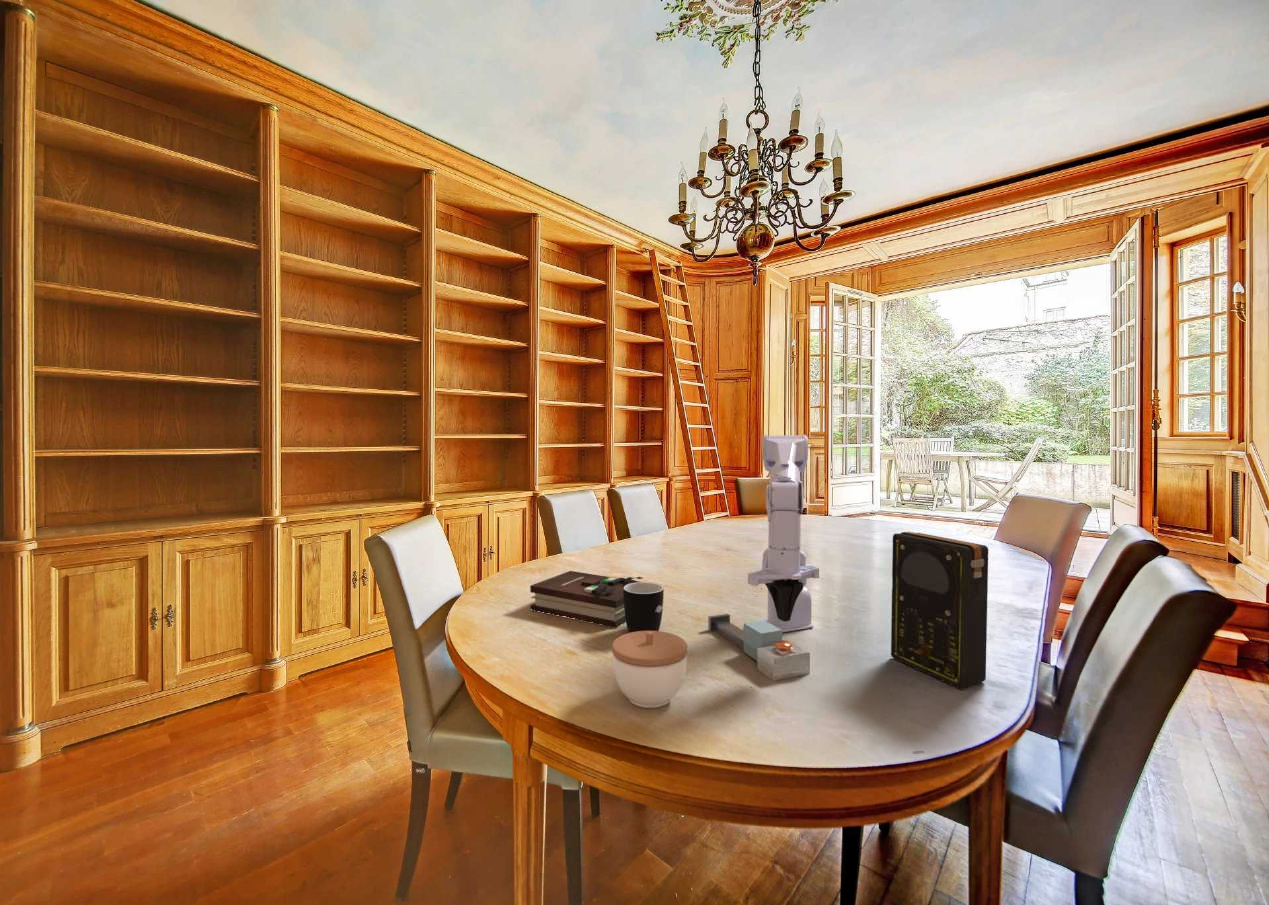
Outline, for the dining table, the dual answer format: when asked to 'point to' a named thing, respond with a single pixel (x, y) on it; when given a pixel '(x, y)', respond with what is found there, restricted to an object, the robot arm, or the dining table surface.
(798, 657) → the grey rectangular block
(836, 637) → the dining table surface
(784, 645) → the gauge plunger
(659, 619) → the mug
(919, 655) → the voltmeter
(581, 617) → the decorative book
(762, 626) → the carriage
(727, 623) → the rail
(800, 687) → the dining table surface
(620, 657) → the lidded bowl
